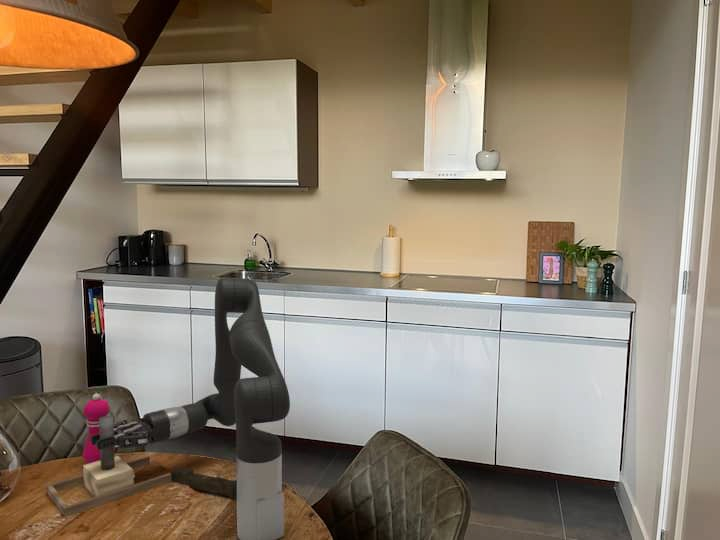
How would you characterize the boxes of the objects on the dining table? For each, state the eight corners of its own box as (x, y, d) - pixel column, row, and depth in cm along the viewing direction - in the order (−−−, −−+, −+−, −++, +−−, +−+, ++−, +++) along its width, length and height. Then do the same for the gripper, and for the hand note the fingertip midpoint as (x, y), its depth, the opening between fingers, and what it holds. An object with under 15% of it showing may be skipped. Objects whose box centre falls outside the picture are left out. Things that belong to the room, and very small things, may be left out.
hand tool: (242, 494, 136) (242, 475, 136) (232, 501, 133) (232, 482, 132) (177, 479, 143) (177, 461, 143) (166, 486, 139) (166, 468, 139)
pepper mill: (119, 463, 151) (116, 389, 149) (104, 476, 144) (101, 399, 141) (93, 462, 152) (90, 388, 149) (77, 474, 144) (74, 397, 142)
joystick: (135, 489, 135) (132, 419, 133) (98, 501, 129) (95, 428, 127) (119, 474, 142) (116, 408, 140) (83, 485, 137) (80, 416, 135)
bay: (171, 486, 139) (171, 474, 139) (65, 522, 123) (64, 509, 123) (148, 466, 149) (148, 455, 149) (46, 497, 133) (46, 485, 133)
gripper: (153, 402, 149) (83, 418, 137) (177, 417, 139) (103, 436, 127) (154, 430, 150) (84, 449, 138) (178, 447, 139) (105, 469, 128)
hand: (94, 443), depth 132 cm, fingers closed on joystick, 3 cm apart
